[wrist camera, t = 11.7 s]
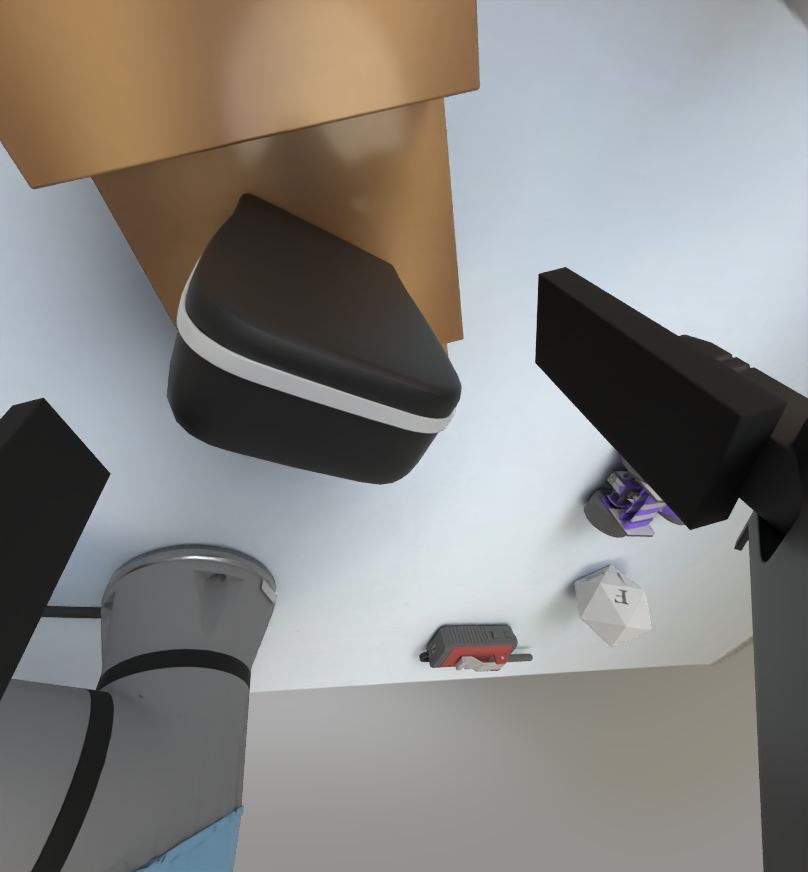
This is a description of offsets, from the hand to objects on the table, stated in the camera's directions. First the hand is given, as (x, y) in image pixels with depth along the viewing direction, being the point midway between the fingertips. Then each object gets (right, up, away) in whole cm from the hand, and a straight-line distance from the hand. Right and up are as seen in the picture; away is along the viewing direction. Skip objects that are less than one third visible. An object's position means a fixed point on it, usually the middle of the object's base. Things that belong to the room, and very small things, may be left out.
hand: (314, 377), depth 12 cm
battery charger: (-2, +5, +7) cm, 9 cm away
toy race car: (+29, -6, +34) cm, 45 cm away
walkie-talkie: (+15, -33, +49) cm, 61 cm away
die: (+28, -21, +46) cm, 58 cm away
